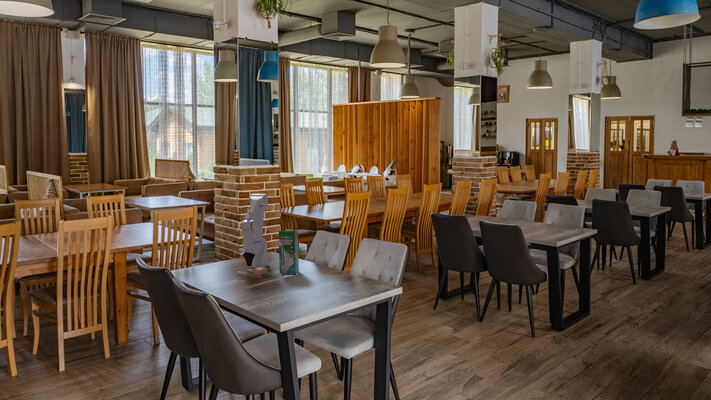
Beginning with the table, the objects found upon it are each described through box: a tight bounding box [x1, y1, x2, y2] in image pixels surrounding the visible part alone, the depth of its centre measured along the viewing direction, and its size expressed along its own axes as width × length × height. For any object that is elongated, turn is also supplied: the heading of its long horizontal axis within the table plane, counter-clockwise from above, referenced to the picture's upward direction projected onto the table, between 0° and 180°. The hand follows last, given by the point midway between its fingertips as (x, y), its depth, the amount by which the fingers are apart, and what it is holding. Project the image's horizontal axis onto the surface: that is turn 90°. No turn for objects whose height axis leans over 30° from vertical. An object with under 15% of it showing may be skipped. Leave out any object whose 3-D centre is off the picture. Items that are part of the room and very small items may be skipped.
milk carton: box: [278, 228, 300, 276], centre depth 302 cm, size 9×9×25 cm
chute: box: [236, 268, 272, 279], centre depth 296 cm, size 11×18×2 cm, turn 53°
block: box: [252, 267, 269, 275], centre depth 293 cm, size 6×5×4 cm
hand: (249, 266), depth 298 cm, fingers closed
